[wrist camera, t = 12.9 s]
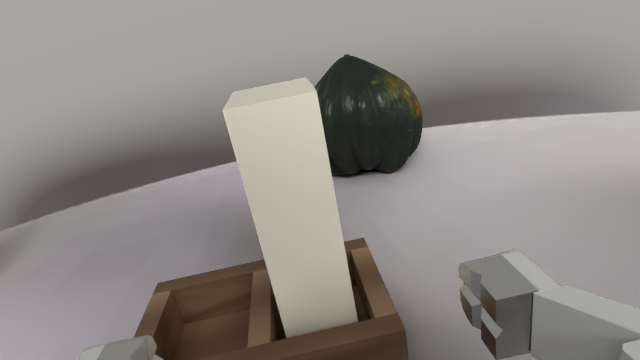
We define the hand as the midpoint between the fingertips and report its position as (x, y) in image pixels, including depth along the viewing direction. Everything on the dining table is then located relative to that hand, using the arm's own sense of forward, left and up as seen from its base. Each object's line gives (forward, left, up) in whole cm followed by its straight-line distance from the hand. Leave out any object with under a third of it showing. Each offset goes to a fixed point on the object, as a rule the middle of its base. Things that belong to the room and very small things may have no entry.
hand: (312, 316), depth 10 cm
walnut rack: (-11, +2, -12) cm, 16 cm away
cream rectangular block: (-9, +5, -11) cm, 15 cm away
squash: (-29, +27, -12) cm, 42 cm away
